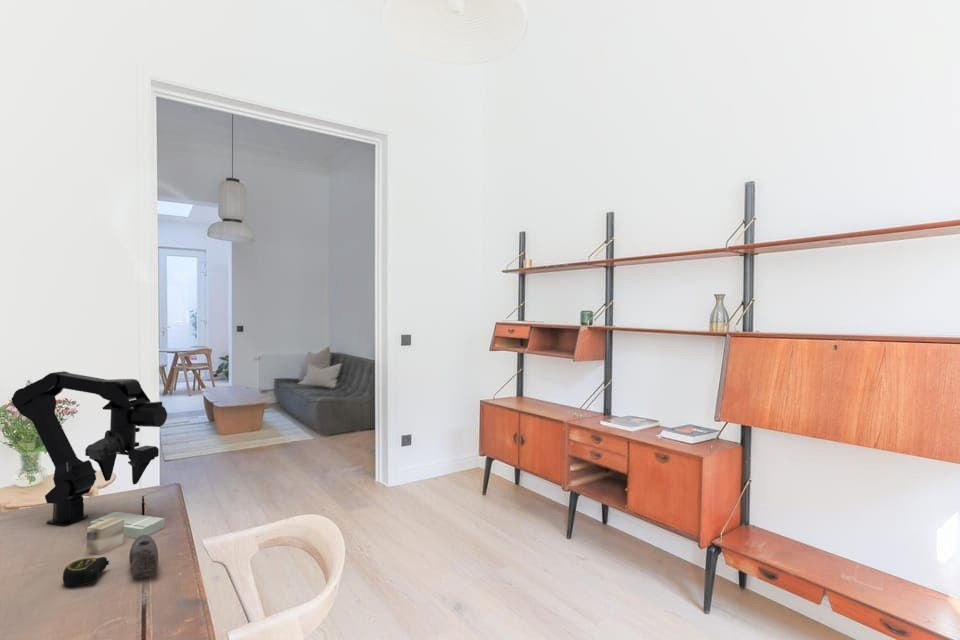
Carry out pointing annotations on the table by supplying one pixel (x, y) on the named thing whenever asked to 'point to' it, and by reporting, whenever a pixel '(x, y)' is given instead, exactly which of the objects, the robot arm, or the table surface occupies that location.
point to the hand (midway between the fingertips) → (121, 482)
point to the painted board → (135, 523)
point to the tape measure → (84, 571)
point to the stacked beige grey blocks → (105, 535)
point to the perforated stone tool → (143, 557)
